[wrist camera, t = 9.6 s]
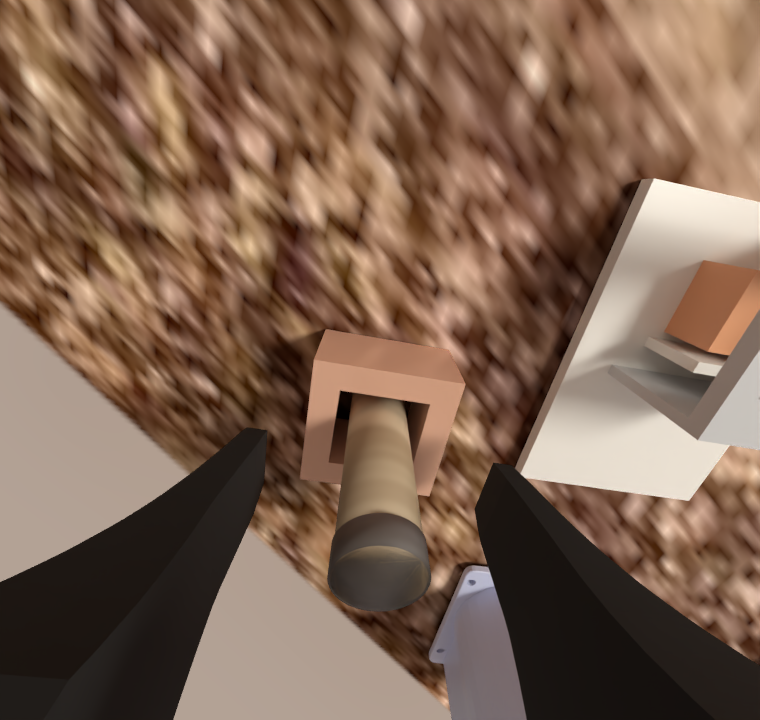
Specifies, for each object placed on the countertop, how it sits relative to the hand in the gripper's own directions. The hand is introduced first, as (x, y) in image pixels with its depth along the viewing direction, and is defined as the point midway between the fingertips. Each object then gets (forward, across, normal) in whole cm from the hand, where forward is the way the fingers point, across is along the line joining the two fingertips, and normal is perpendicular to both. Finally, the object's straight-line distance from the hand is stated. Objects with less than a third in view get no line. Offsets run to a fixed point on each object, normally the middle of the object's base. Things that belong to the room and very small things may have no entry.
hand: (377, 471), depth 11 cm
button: (+4, -12, -7) cm, 14 cm away
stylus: (+5, 0, 0) cm, 5 cm away
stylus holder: (+5, 0, 0) cm, 5 cm away
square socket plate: (+5, -12, -3) cm, 13 cm away
